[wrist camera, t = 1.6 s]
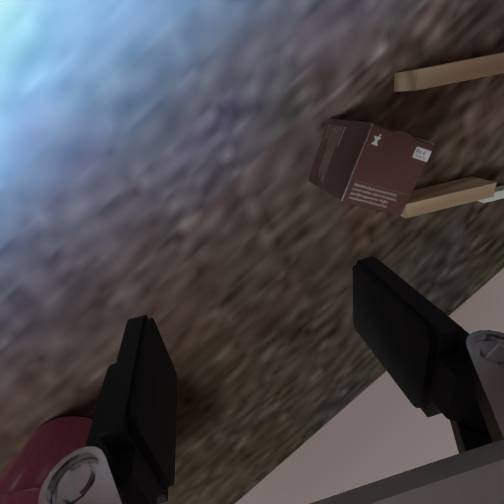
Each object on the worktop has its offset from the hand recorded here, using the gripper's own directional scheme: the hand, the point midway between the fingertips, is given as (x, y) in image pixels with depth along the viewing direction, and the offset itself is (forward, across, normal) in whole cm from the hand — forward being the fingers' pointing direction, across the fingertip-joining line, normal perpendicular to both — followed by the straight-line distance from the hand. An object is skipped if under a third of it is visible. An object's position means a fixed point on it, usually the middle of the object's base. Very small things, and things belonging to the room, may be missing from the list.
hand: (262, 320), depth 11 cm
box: (+20, -13, 0) cm, 24 cm away
